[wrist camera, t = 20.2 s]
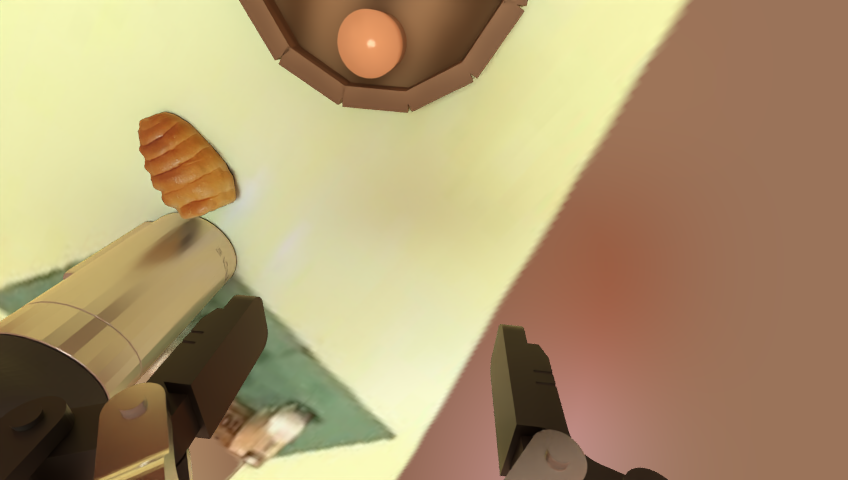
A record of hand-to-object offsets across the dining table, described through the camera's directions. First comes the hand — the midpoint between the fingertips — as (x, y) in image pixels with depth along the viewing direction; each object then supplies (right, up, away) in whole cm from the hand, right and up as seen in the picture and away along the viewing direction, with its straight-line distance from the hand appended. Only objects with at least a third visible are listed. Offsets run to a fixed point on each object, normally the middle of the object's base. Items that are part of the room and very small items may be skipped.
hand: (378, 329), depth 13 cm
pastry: (-20, +10, +23) cm, 32 cm away
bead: (-2, +18, +15) cm, 24 cm away
